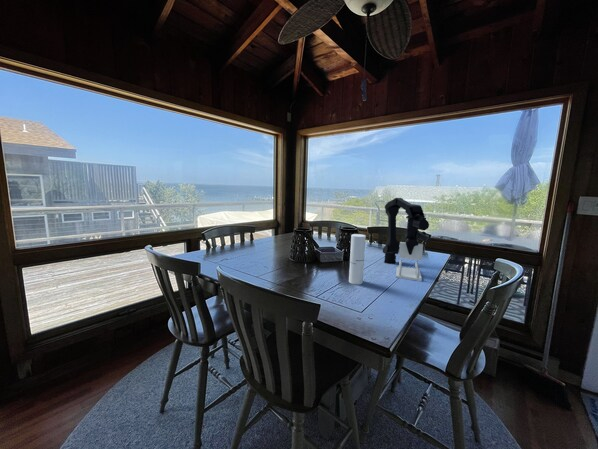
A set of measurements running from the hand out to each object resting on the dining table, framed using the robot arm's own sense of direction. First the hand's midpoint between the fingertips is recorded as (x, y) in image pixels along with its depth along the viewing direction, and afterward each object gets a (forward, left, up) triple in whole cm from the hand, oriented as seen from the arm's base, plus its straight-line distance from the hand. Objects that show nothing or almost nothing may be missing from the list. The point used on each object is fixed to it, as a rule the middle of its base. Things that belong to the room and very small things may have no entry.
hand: (410, 254), depth 145 cm
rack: (0, 0, -12) cm, 12 cm away
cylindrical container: (-26, -25, -12) cm, 38 cm away
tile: (0, 0, -3) cm, 3 cm away
